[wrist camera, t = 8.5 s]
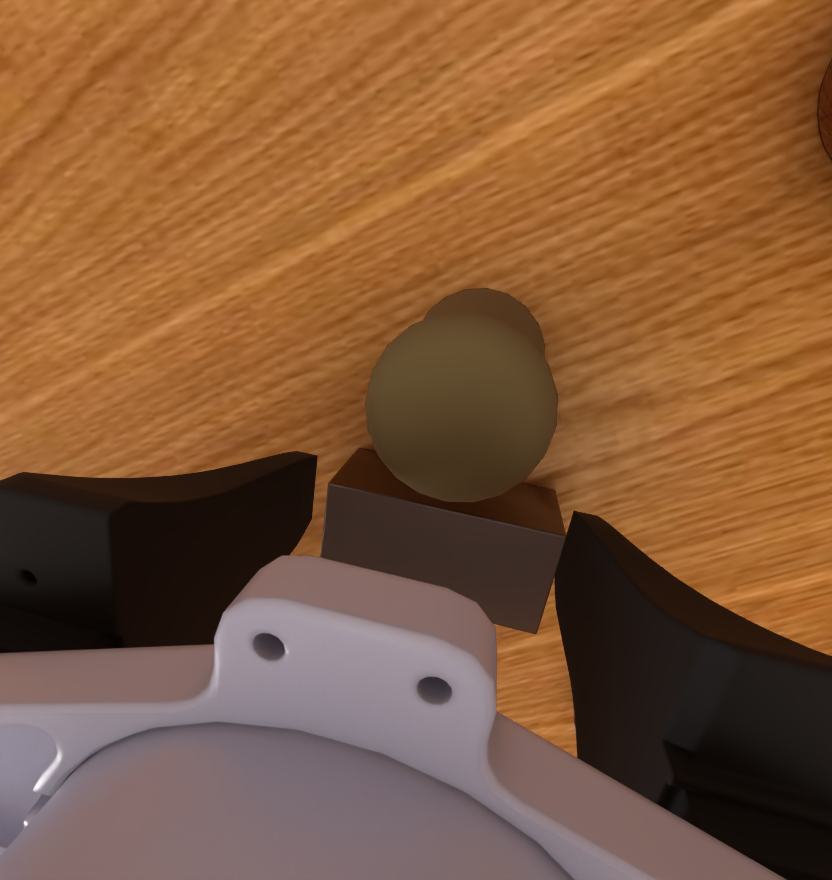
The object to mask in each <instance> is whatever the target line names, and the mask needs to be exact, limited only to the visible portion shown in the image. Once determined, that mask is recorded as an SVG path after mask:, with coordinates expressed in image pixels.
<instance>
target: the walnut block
mask: <svg viewBox="0 0 832 880" xmlns="http://www.w3.org/2000/svg"><path fill="white" fill-rule="evenodd" d="M565 539H566V533H565V528H564V524H563V520H562V516H561V512H560V508H559V504H558V500H557V496H556V492H555V490H551V489H547V488H542V487H537V486H533V485H528V484H523V483H519V484H517V485H516V486H514V487H512V488H511V489H509V490H508V491H506V492H505V493H503V494H501V495H498V496H495V497H491V498H487V499H484V500H480V501H476V502H447V501H443V500H439V499H436V498H433V497H430V496H427V495H424V494H421V493H418V492H417V491H415V490H414V489H412V488H411V487H409V486H408V485H406V484H405V483H403V482H402V481H400V480H399V479H397V478H396V477H395V476H394V474H393V473H392V472H391V471H390V470H389V468H388V467H387V466H386V465H385V464H384V462H383V461H382V460H381V459H380V458H379V456H378V454H377V452H375V451H370V450H365V449H361V448H358V449H357V450H356V451H355V453H354V454H353V455H352V456H351V457H350V458H349V460H348V461H347V462H346V463H345V464H344V465H343V467H342V468H341V469H340V470H339V471H338V472H337V473H336V475H335V476H334V477H333V478H332V479H331V480H330V482H329V483H328V490H327V500H326V509H325V519H324V528H323V538H322V547H321V557H320V558H324V559H328V560H333V561H337V562H341V563H345V564H349V565H354V566H358V567H362V568H366V569H370V570H374V571H379V572H383V573H387V574H391V575H395V576H399V577H404V578H408V579H412V580H416V581H420V582H425V583H429V584H433V585H437V586H441V587H445V588H448V589H450V590H452V591H454V592H456V593H458V594H460V595H462V596H464V597H466V598H469V599H471V600H473V601H475V602H477V604H478V605H479V606H480V608H481V609H482V610H483V612H484V613H485V614H486V615H487V617H488V618H489V619H490V621H491V622H492V623H493V624H497V625H501V626H505V627H509V628H513V629H517V630H521V631H525V632H529V633H533V634H536V633H537V631H538V628H539V625H540V622H541V618H542V615H543V612H544V609H545V605H546V602H547V599H548V596H549V592H550V589H551V586H552V583H553V579H554V576H555V572H556V568H557V565H558V562H559V558H560V555H561V552H562V548H563V545H564V542H565Z"/></svg>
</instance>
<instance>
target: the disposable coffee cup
mask: <svg viewBox="0 0 832 880" xmlns="http://www.w3.org/2000/svg"><path fill="white" fill-rule="evenodd" d="M818 117H819V124H820V132H821V137H822V140H823V143H824V145H825V148H826V150H827V152H828V153H829V155H830V156H831V158H832V61H831V63H830V66H829V68H828V70H827V72H826V75H825V77H824V81H823V84H822V88H821V92H820V99H819V108H818Z"/></svg>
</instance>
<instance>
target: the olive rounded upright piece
mask: <svg viewBox="0 0 832 880" xmlns="http://www.w3.org/2000/svg"><path fill="white" fill-rule="evenodd" d="M365 406H366V417H367V428H368V433H369V435H370V437H371V440H372V442H373V445H374V447H375V449H376V452H377V454H378V456H379V458H380V459H381V460H382V461H383V462H384V464H385V465H386V466H387V467H388V468H389V470H390V471H391V472H392V473H393V474H394V476H395V477H396V478H397V479H399V480H400V481H402V482H403V483H405V484H406V485H408V486H409V487H411V488H412V489H414V490H415V491H417V492H418V493H421V494H424V495H427V496H430V497H433V498H436V499H439V500H443V501H447V502H476V501H480V500H484V499H487V498H491V497H495V496H498V495H501V494H503V493H505V492H506V491H508V490H509V489H511V488H512V487H514V486H516V485H517V484H519V483H520V482H522V481H524V480H525V479H526V478H527V477H528V475H529V474H530V473H531V472H532V471H533V469H534V468H535V467H536V466H537V465H538V463H539V462H540V461H541V460H542V459H543V457H544V455H545V454H546V452H547V449H548V446H549V444H550V441H551V439H552V436H553V434H554V431H555V428H556V426H557V406H558V394H557V390H556V387H555V384H554V381H553V377H552V374H551V371H550V368H549V365H548V363H547V362H546V360H545V343H544V340H543V337H542V333H541V330H540V327H539V324H538V322H537V321H536V320H535V318H534V317H533V316H532V314H531V313H530V311H529V310H528V309H527V307H526V306H524V305H523V304H522V303H520V302H519V301H517V300H516V299H514V298H513V297H511V296H510V295H509V294H506V293H502V292H499V291H495V290H492V289H488V288H481V289H465V290H462V291H460V292H457V293H455V294H452V295H450V296H447V297H445V298H444V299H443V300H441V301H440V302H439V303H438V304H437V305H435V306H434V307H433V308H432V309H431V310H429V311H428V313H427V315H426V316H425V318H424V319H423V321H421V322H418V323H416V324H413V325H411V326H410V327H408V328H407V329H406V330H405V331H404V332H402V333H401V334H400V335H399V336H398V337H396V338H395V339H394V340H393V341H392V342H391V343H389V344H388V345H387V347H386V349H385V350H384V352H383V353H382V355H381V357H380V358H379V360H378V362H377V363H376V365H375V367H374V368H373V370H372V374H371V378H370V383H369V387H368V391H367V396H366V402H365Z"/></svg>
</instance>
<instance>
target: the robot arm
mask: <svg viewBox="0 0 832 880" xmlns="http://www.w3.org/2000/svg"><path fill="white" fill-rule="evenodd" d="M316 467H317V455H312V454H307V453H303V452H298V451H295V452H287V453H282V454H278V455H274V456H270V457H266V458H262V459H258V460H254V461H250V462H246V463H242V464H238V465H233V466H228V467H224V468H219V469H215V470H210V471H204V472H198V473H190V474H183V475H174V476H161V477H143V478H88V477H72V476H60V475H49V474H37V473H28V472H22V473H18V474H16V475H13V476H11V477H8V478H6V479H3V480H1V481H0V880H832V656H829V655H826V654H824V653H821V652H818V651H816V650H813V649H810V648H808V647H806V646H803V645H801V644H799V643H796V642H794V641H792V640H789V639H787V638H785V637H783V636H780V635H778V634H776V633H774V632H771V631H769V630H767V629H765V628H763V627H761V626H759V625H757V624H755V623H753V622H751V621H749V620H747V619H745V618H743V617H741V616H739V615H737V614H735V613H733V612H732V611H730V610H728V609H726V608H724V607H722V606H720V605H719V604H717V603H715V602H713V601H712V600H710V599H708V598H707V597H705V596H704V595H702V594H700V593H699V592H697V591H696V590H694V589H692V588H691V587H689V586H688V585H686V584H685V583H683V582H682V581H680V580H679V579H677V578H676V577H674V576H673V575H672V574H670V573H669V572H668V571H666V570H665V569H664V568H662V567H661V566H660V565H658V564H657V563H656V562H654V561H653V560H652V559H650V558H649V557H648V556H647V555H645V554H644V553H643V552H642V551H641V550H639V549H638V548H637V547H636V546H635V545H633V544H632V543H631V542H630V541H629V540H627V539H626V538H625V537H624V536H623V535H622V534H620V533H619V532H618V531H617V530H616V529H614V528H613V527H612V526H611V525H610V524H608V523H607V522H606V521H604V520H603V519H602V518H600V517H598V516H596V515H591V514H586V513H582V512H577V511H574V512H573V515H572V519H571V522H570V525H569V529H568V532H567V535H566V539H565V542H564V545H563V548H562V552H561V555H560V558H559V562H558V565H557V568H556V572H555V601H556V610H557V616H558V621H559V626H560V631H561V636H562V641H563V646H564V651H565V656H566V661H567V666H568V671H569V676H570V681H571V688H572V694H573V704H574V716H575V728H576V741H577V757H578V758H576V757H575V756H573V755H571V754H569V753H568V752H566V751H564V750H563V749H561V748H559V747H557V746H556V745H554V744H552V743H551V742H549V741H547V740H545V739H544V738H542V737H540V736H538V735H537V734H535V733H533V732H532V731H530V730H528V729H526V728H525V727H523V726H521V725H520V724H518V723H516V722H514V721H513V720H511V719H509V718H507V717H506V716H504V715H502V714H501V713H499V712H497V711H496V692H497V646H496V630H495V626H494V625H493V623H492V622H491V621H490V619H489V618H488V617H487V615H486V614H485V613H484V612H483V610H482V609H481V608H480V606H479V605H478V604H477V602H475V601H473V600H471V599H469V598H466V597H464V596H462V595H460V594H458V593H456V592H454V591H452V590H450V589H448V588H445V587H441V586H437V585H433V584H429V583H425V582H420V581H416V580H412V579H408V578H404V577H399V576H395V575H391V574H387V573H383V572H379V571H374V570H370V569H366V568H362V567H358V566H354V565H349V564H345V563H341V562H337V561H333V560H328V559H324V558H320V557H316V556H289V555H290V554H291V552H292V551H293V550H294V548H295V547H296V546H297V544H298V543H299V541H300V539H301V537H302V536H303V534H304V532H305V530H306V529H307V527H308V525H309V523H310V521H311V519H312V510H313V499H314V489H315V478H316Z"/></svg>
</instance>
